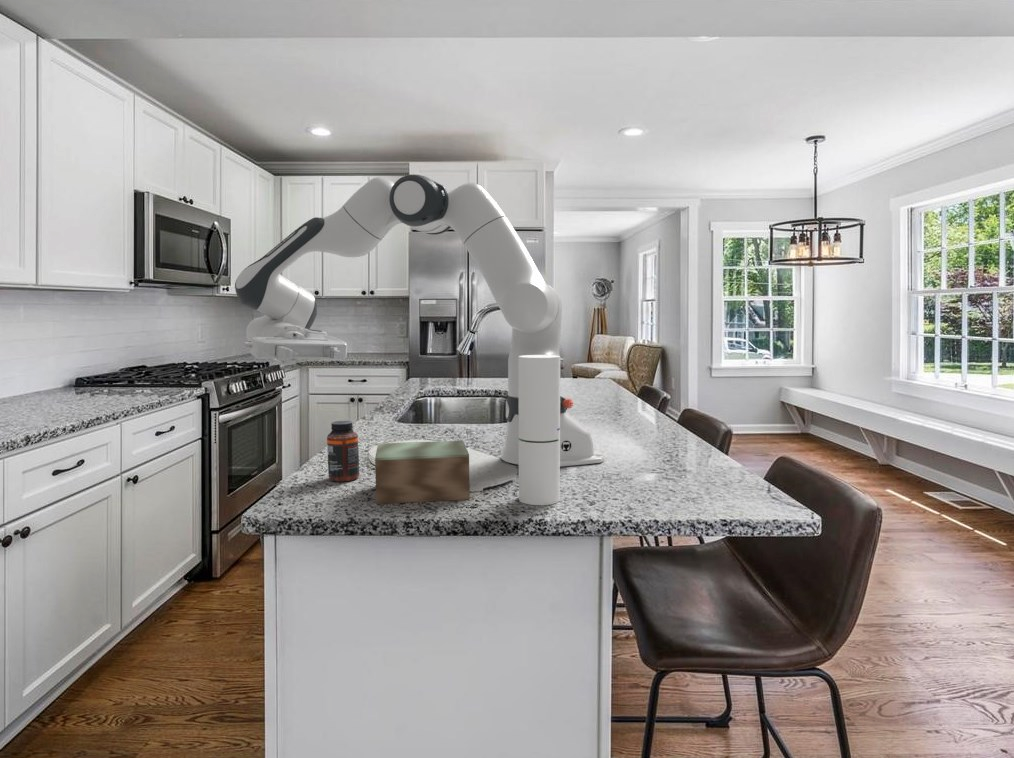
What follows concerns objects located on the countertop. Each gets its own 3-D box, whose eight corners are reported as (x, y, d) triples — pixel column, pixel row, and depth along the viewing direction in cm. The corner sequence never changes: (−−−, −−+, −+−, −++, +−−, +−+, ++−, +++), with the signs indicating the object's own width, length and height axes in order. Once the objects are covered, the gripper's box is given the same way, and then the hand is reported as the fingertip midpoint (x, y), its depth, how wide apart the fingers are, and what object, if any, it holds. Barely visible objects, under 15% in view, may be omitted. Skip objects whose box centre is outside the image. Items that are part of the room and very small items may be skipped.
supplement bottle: (363, 475, 128) (362, 419, 127) (353, 483, 123) (352, 424, 121) (334, 474, 129) (333, 419, 128) (323, 482, 123) (321, 424, 122)
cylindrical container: (564, 495, 114) (564, 355, 111) (553, 507, 107) (554, 358, 104) (525, 491, 116) (525, 354, 113) (513, 503, 109) (512, 357, 107)
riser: (463, 481, 123) (462, 440, 123) (469, 499, 112) (469, 454, 111) (379, 485, 121) (378, 443, 120) (376, 503, 109) (375, 457, 108)
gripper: (241, 328, 134) (267, 338, 124) (330, 331, 148) (360, 341, 138) (239, 357, 135) (265, 370, 125) (328, 358, 149) (358, 369, 139)
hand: (316, 355), depth 132 cm, fingers open, 8 cm apart
